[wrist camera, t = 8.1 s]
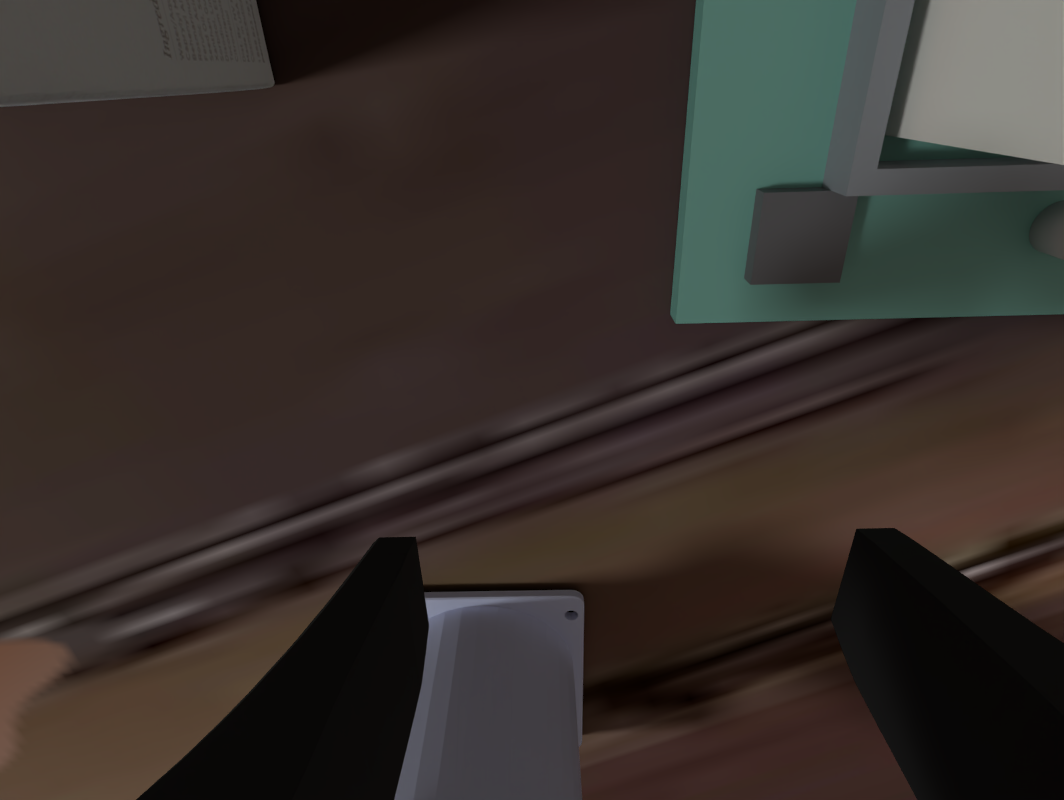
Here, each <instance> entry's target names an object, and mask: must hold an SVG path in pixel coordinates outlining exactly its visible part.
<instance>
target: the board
mask: <svg viewBox="0 0 1064 800" xmlns="http://www.w3.org/2000/svg"><path fill="white" fill-rule="evenodd" d="M914 2H915V0H696V10H695V22H694V34H693V46H692V58H691V70H690V82H689V94H688V106H687V119H686V131H685V143H684V155H683V167H682V179H681V191H680V203H679V215H678V228H677V240H676V252H675V264H674V276H673V288H672V300H671V312H670V314H671V316H672V318H673V320H674V322H675V323H676V324H683V323H724V322H764V321H805V320H846V319H887V318H927V317H968V316H1009V315H1049V314H1064V165H1060V164H1054V163H1049V162H1043V161H1037V160H1031V159H1025V158H1019V157H1013V156H1007V155H1001V154H995V153H989V152H983V151H977V150H971V149H965V148H959V147H953V146H947V145H941V144H935V143H929V142H923V141H917V140H911V139H905V138H899V137H893V136H888V135H885V131H886V127H887V123H888V118H889V114H890V109H891V105H892V100H893V96H894V91H895V87H896V82H897V78H898V73H899V69H900V65H901V60H902V56H903V51H904V47H905V42H906V38H907V33H908V29H909V24H910V20H911V16H912V11H913V7H914Z"/></svg>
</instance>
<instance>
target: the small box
mask: <svg viewBox="0 0 1064 800" xmlns="http://www.w3.org/2000/svg"><path fill="white" fill-rule="evenodd" d="M274 83H275V82H274V78H273V74H272V70H271V65H270V61H269V57H268V52H267V47H266V43H265V39H264V34H263V29H262V25H261V20H260V16H259V11H258V7H257V2H256V0H0V107H5V106H23V105H38V104H53V103H67V102H82V101H97V100H112V99H128V98H143V97H158V96H173V95H189V94H202V93H216V92H229V91H242V90H253V89H263V88H270V87H273V86H274Z"/></svg>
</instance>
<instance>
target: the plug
mask: <svg viewBox="0 0 1064 800" xmlns="http://www.w3.org/2000/svg"><path fill="white" fill-rule="evenodd" d="M885 135H888V136H893V137H899V138H905V139H911V140H917V141H923V142H929V143H935V144H941V145H947V146H953V147H959V148H965V149H971V150H977V151H983V152H989V153H995V154H1001V155H1007V156H1013V157H1019V158H1025V159H1031V160H1037V161H1043V162H1049V163H1054V164H1060V165H1064V0H915V2H914V7H913V11H912V16H911V20H910V24H909V29H908V33H907V38H906V42H905V47H904V51H903V56H902V60H901V65H900V69H899V73H898V78H897V82H896V87H895V91H894V96H893V100H892V105H891V109H890V114H889V118H888V123H887V127H886V131H885Z"/></svg>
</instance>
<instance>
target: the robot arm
mask: <svg viewBox="0 0 1064 800" xmlns="http://www.w3.org/2000/svg"><path fill="white" fill-rule="evenodd" d="M567 611H575V612H567ZM831 621H832V623H833V626H834V629H835V632H836V634H837V637H838V640H839V643H840V645H841V648H842V651H843V654H844V656H845V659H846V661H847V664H848V666H849V668H850V671H851V673H852V676H853V678H854V681H855V683H856V685H857V687H858V689H859V691H860V693H861V695H862V696H863V698H864V700H865V702H866V704H867V706H868V708H869V710H870V712H871V714H872V716H873V717H874V719H875V721H876V723H877V725H878V727H879V729H880V731H881V733H882V734H883V736H884V738H885V740H886V742H887V744H888V746H889V748H890V749H891V751H892V753H893V755H894V757H895V759H896V761H897V762H898V764H899V766H900V768H901V770H902V772H903V774H904V776H905V777H906V779H907V781H908V783H909V785H910V787H911V789H912V790H913V792H914V794H915V796H916V798H917V800H1064V643H1062V642H1061V641H1059V640H1058V639H1056V638H1055V637H1053V636H1052V635H1050V634H1049V633H1047V632H1046V631H1044V630H1043V629H1041V628H1040V627H1038V626H1037V625H1035V624H1034V623H1032V622H1031V621H1029V620H1028V619H1027V618H1025V617H1024V616H1022V615H1021V614H1019V613H1018V612H1016V611H1015V610H1013V609H1012V608H1010V607H1009V606H1008V605H1006V604H1005V603H1003V602H1002V601H1000V600H999V599H997V598H996V597H995V596H993V595H992V594H990V593H989V592H987V591H986V590H984V589H983V588H982V587H980V586H979V585H977V584H976V583H974V582H973V581H972V580H970V579H969V578H967V577H966V576H964V575H963V574H962V573H960V572H959V571H957V570H956V569H954V568H953V567H952V566H950V565H949V564H947V563H946V562H944V561H943V560H942V559H940V558H939V557H937V556H936V555H934V554H933V553H931V552H930V551H929V550H927V549H926V548H924V547H923V546H921V545H920V544H918V543H917V542H915V541H914V540H912V539H911V538H909V537H908V536H906V535H905V534H903V533H901V532H900V531H898V530H897V529H895V528H874V529H856V532H855V536H854V539H853V543H852V546H851V550H850V553H849V557H848V560H847V564H846V567H845V571H844V575H843V578H842V582H841V585H840V589H839V592H838V596H837V599H836V603H835V606H834V610H833V613H832V617H831ZM583 654H584V598H583V595H582V594H581V593H580V592H578V591H576V590H526V591H466V592H424V588H423V581H422V575H421V568H420V562H419V555H418V548H417V542H416V537H385V538H378V539H377V540H376V541H375V542H374V543H373V544H372V546H371V547H370V548H369V550H368V551H367V552H366V554H365V555H364V556H363V558H362V559H361V560H360V562H359V563H358V564H357V565H356V567H355V568H354V569H353V571H352V572H351V573H350V575H349V576H348V577H347V579H346V580H345V581H344V582H343V584H342V585H341V586H340V588H339V589H338V590H337V591H336V593H335V594H334V595H333V596H332V598H331V599H330V600H329V601H328V603H327V604H326V605H325V606H324V608H323V609H322V610H321V611H320V612H319V614H318V615H317V616H316V617H315V618H314V620H313V621H312V622H311V623H310V624H309V626H308V627H307V628H306V629H305V630H304V632H303V633H302V634H301V635H300V636H299V638H298V639H297V640H296V641H295V642H294V643H293V645H292V646H291V647H290V648H289V649H288V650H287V651H286V653H285V654H284V655H283V656H282V657H281V658H280V659H279V660H278V661H277V662H276V664H275V665H274V666H273V667H272V668H271V669H270V670H269V671H268V672H267V673H266V675H265V676H264V677H263V678H262V679H261V680H260V681H259V682H258V683H257V684H256V685H255V687H254V688H253V689H252V690H251V691H250V692H249V693H248V694H247V695H246V696H245V697H244V698H243V699H242V700H241V701H240V702H239V703H238V704H237V706H236V707H235V708H234V709H233V710H232V711H231V712H230V713H229V714H228V715H227V716H226V717H225V718H224V719H223V720H222V721H221V722H220V723H219V724H218V725H217V726H216V727H215V728H214V729H213V730H212V731H211V732H209V733H208V734H207V735H206V736H205V737H204V738H203V739H202V740H201V741H200V742H199V743H198V744H197V745H196V746H195V747H194V748H193V749H192V750H191V751H190V752H189V753H188V754H187V755H185V756H184V757H183V758H182V759H181V760H180V761H179V762H178V763H177V764H176V765H175V766H173V767H172V768H171V769H170V770H169V771H168V772H167V773H166V774H164V775H163V776H162V777H161V778H160V779H159V780H158V781H157V782H156V783H154V784H153V785H152V786H151V787H150V788H149V789H148V790H147V791H145V792H144V793H143V794H142V795H141V796H140V797H139V798H138V799H136V800H582V790H581V774H580V759H579V746H580V745H581V744H582V715H583Z"/></svg>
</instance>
